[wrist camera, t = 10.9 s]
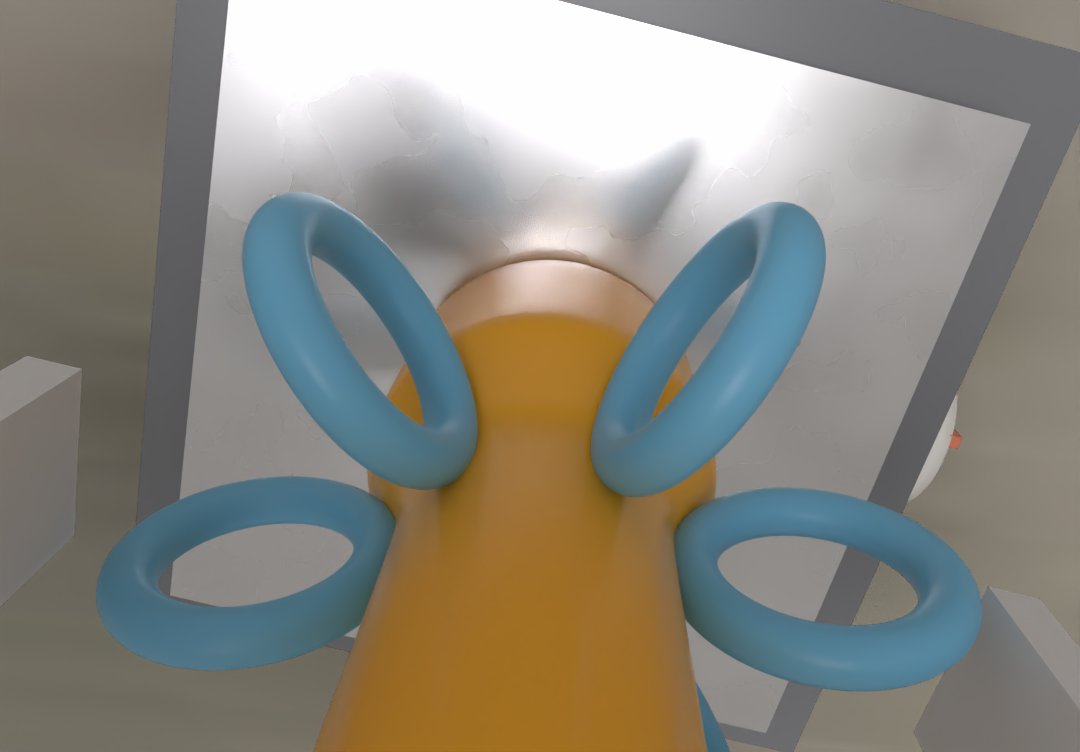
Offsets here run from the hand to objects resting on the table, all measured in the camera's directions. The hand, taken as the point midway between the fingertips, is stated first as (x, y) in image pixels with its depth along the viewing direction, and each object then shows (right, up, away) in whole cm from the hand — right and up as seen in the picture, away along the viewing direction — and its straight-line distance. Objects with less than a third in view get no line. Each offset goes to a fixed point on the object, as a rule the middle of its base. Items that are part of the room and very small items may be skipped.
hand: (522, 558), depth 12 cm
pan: (+1, +4, +11) cm, 12 cm away
